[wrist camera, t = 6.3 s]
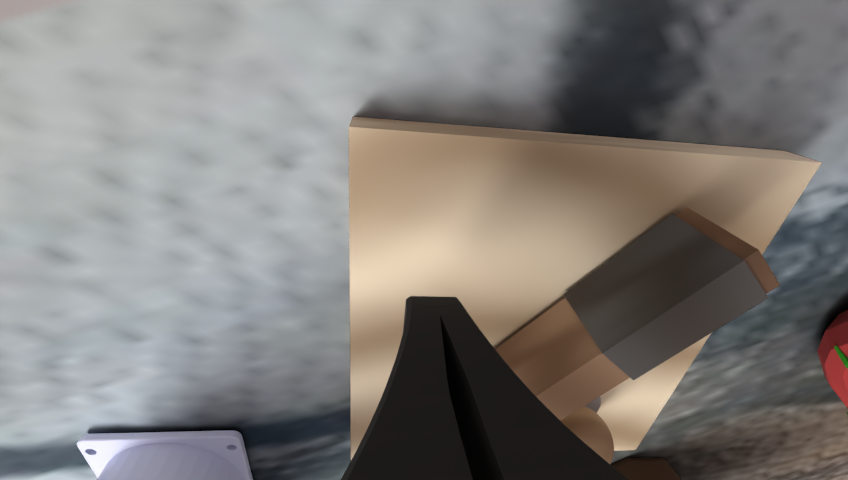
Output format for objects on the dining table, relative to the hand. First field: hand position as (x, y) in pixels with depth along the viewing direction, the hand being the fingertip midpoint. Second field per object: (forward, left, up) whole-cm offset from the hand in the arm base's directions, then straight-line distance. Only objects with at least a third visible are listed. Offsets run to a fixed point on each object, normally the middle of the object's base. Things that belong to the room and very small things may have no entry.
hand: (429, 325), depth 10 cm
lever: (-5, -5, -4) cm, 8 cm away
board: (-5, -6, -6) cm, 10 cm away
